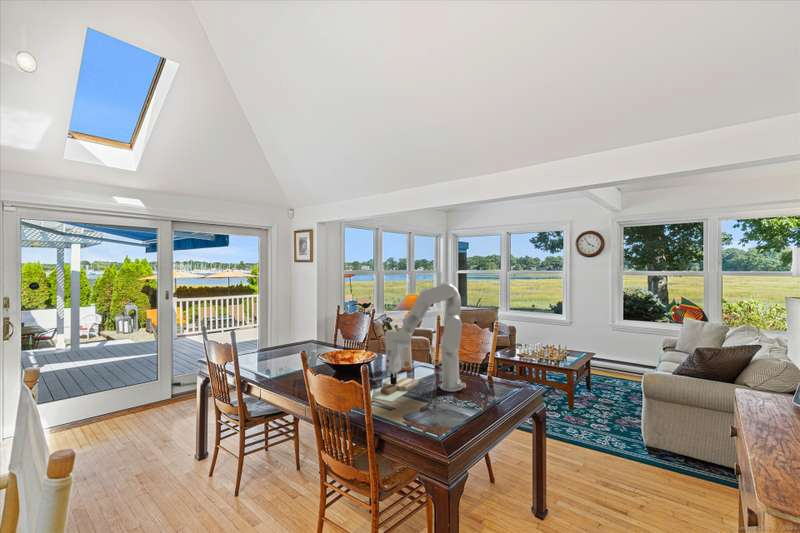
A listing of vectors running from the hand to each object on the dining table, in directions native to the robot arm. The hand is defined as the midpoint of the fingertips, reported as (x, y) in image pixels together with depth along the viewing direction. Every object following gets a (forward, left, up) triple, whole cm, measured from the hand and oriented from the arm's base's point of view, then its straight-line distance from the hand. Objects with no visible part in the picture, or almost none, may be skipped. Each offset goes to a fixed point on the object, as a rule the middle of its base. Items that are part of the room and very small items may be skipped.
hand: (393, 383), depth 215 cm
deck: (0, -8, -3) cm, 8 cm away
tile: (0, +4, -3) cm, 5 cm away
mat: (0, +8, -3) cm, 9 cm away
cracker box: (+17, -35, -4) cm, 39 cm away
